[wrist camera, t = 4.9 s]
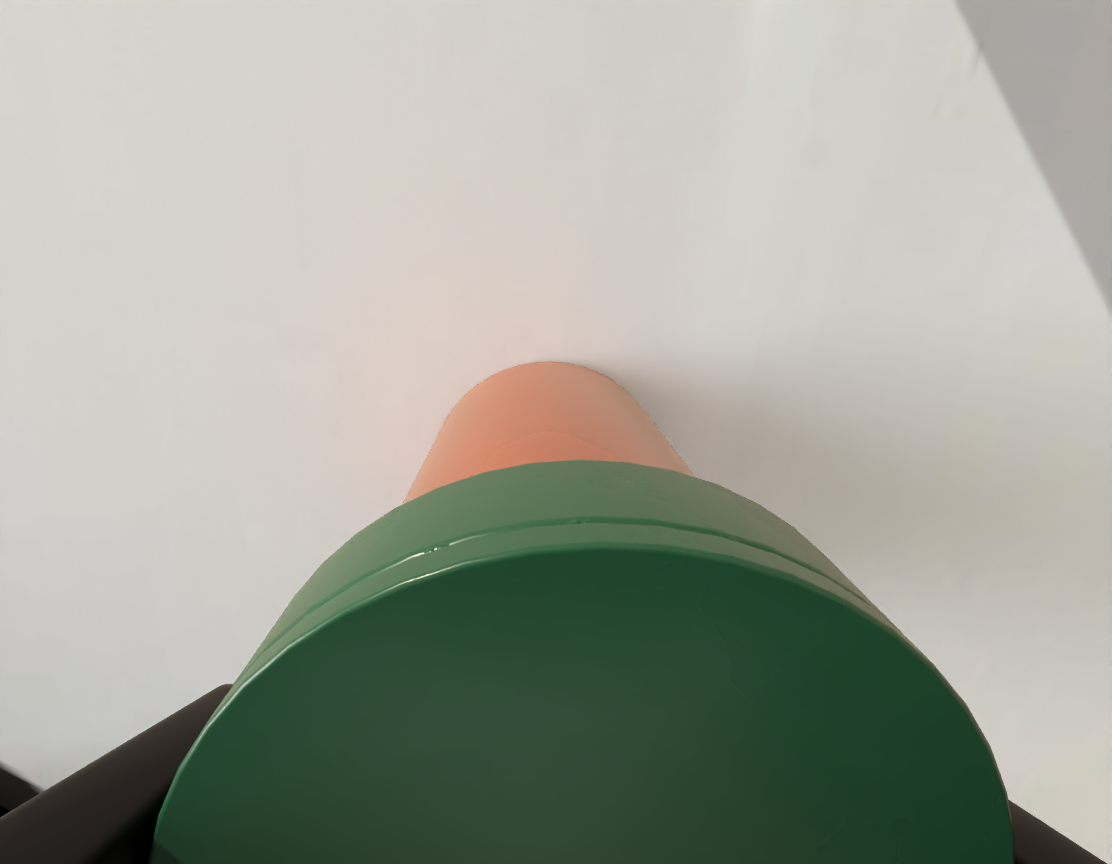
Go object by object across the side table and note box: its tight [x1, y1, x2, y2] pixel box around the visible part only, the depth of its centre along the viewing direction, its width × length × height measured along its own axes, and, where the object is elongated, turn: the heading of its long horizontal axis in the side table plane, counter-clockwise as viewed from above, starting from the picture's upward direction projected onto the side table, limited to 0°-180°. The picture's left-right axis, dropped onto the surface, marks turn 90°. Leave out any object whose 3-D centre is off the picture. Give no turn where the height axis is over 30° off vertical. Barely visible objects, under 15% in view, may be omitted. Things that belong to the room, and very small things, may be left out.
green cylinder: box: [148, 460, 1015, 864], centre depth 6 cm, size 7×7×2 cm
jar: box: [402, 362, 696, 505], centre depth 11 cm, size 6×6×11 cm
